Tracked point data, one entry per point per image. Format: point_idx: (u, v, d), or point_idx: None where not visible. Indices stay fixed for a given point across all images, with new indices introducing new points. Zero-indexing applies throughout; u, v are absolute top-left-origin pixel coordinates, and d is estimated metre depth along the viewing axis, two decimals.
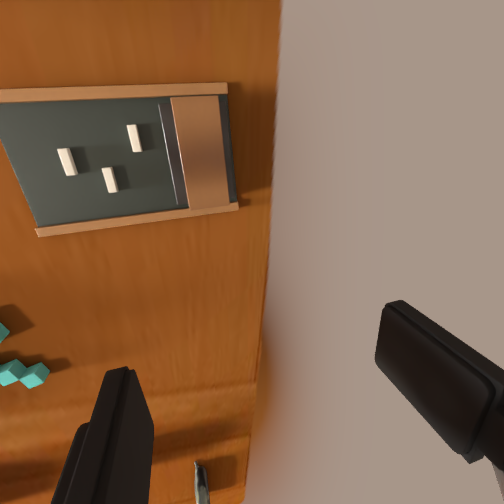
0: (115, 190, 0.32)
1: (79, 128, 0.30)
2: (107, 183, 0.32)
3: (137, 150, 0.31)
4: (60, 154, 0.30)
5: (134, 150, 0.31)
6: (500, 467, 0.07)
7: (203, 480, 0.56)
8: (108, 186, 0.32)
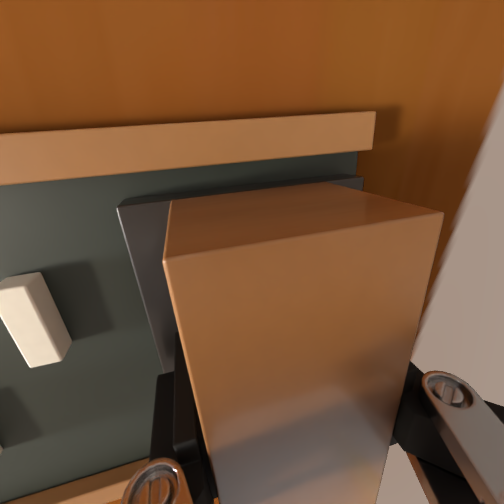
0: None
1: None
2: None
3: (45, 361, 0.09)
4: None
5: (33, 363, 0.08)
6: (405, 449, 0.07)
7: None
8: None
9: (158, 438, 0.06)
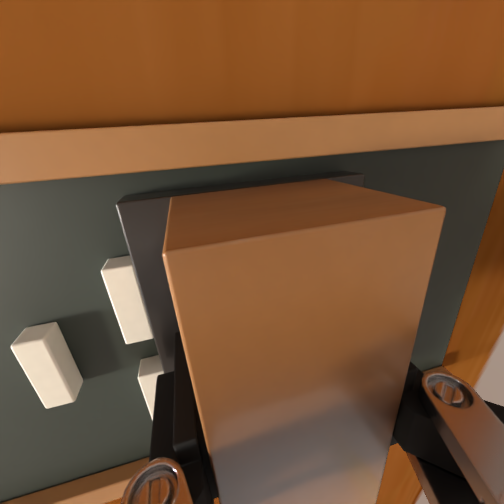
0: None
1: (92, 262, 0.09)
2: (152, 408, 0.11)
3: (140, 338, 0.09)
4: (22, 359, 0.08)
5: (130, 340, 0.09)
6: (405, 449, 0.07)
7: None
8: None
9: (158, 438, 0.06)
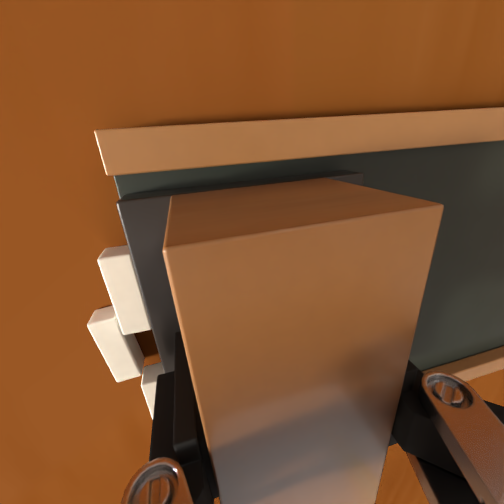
0: None
1: None
2: None
3: (137, 329, 0.09)
4: None
5: (127, 330, 0.09)
6: (405, 449, 0.07)
7: None
8: None
9: (158, 438, 0.06)
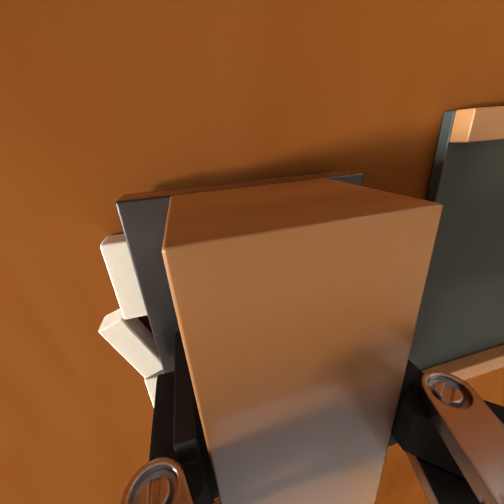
0: None
1: None
2: None
3: (138, 314, 0.09)
4: None
5: (128, 315, 0.09)
6: (405, 449, 0.07)
7: None
8: None
9: (158, 438, 0.06)
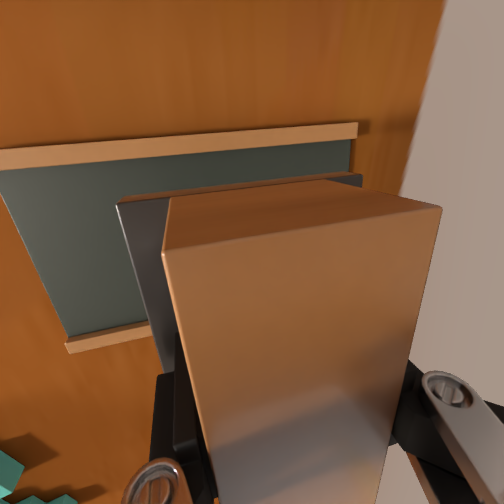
0: None
1: None
2: None
3: None
4: None
5: None
6: (405, 449, 0.07)
7: None
8: None
9: (158, 438, 0.06)
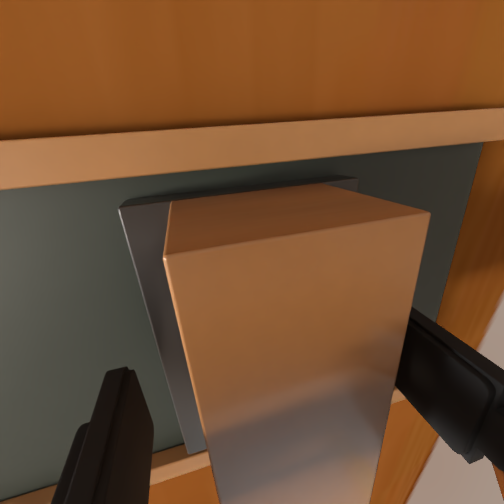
0: None
1: (52, 271, 0.09)
2: None
3: None
4: None
5: None
6: (500, 467, 0.07)
7: None
8: None
9: None
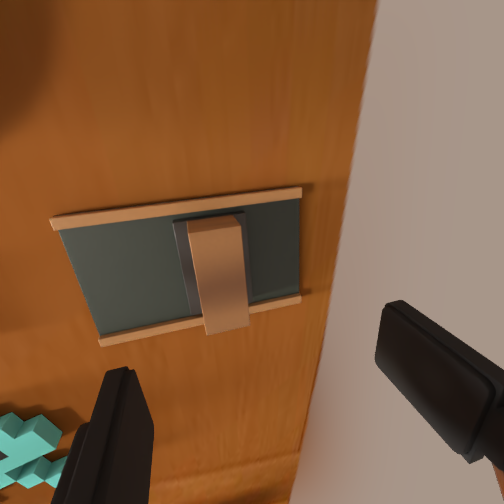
0: None
1: (150, 241, 0.28)
2: None
3: None
4: None
5: None
6: (500, 468, 0.07)
7: None
8: None
9: None
